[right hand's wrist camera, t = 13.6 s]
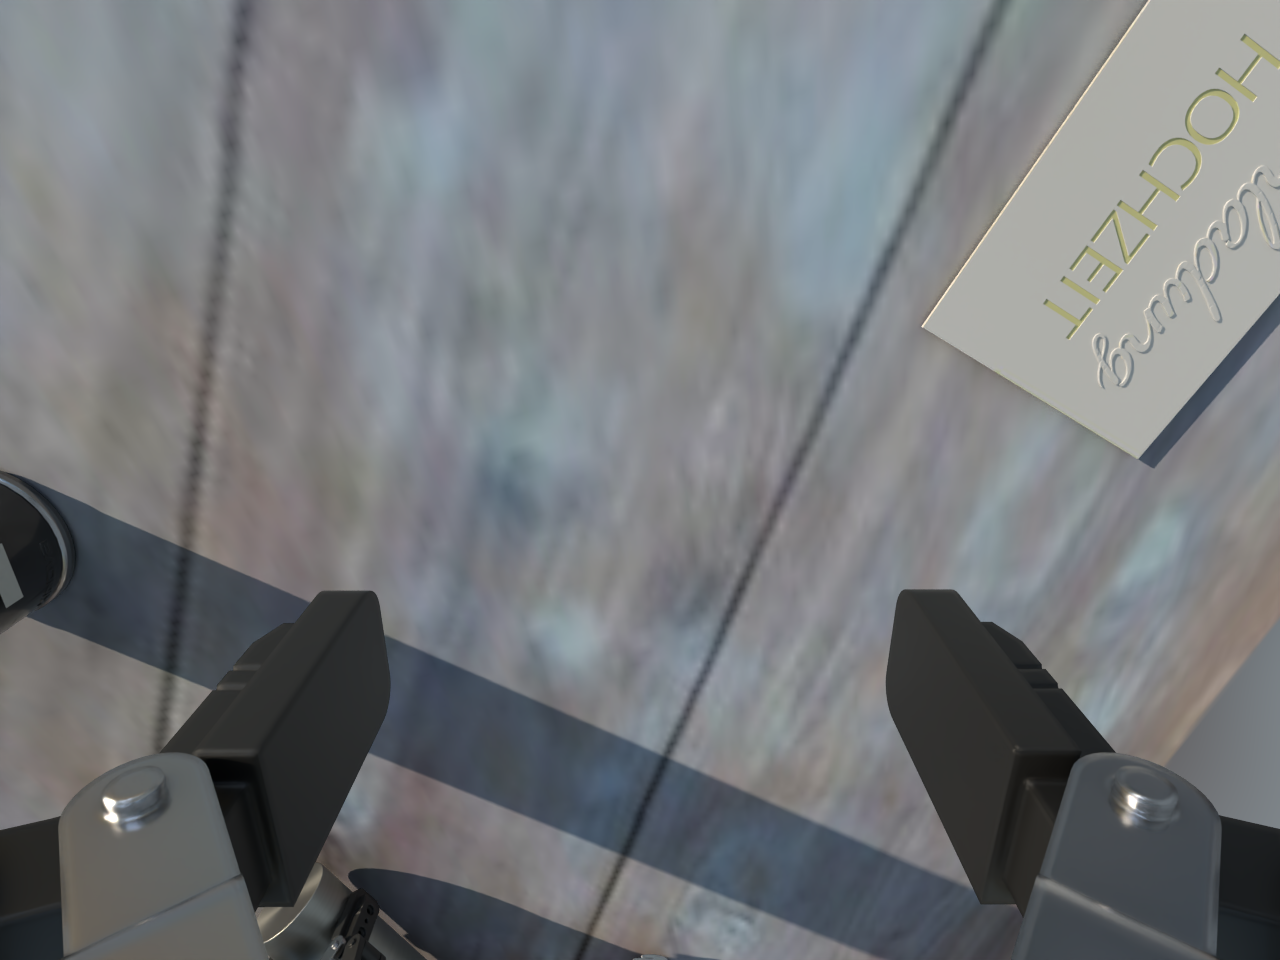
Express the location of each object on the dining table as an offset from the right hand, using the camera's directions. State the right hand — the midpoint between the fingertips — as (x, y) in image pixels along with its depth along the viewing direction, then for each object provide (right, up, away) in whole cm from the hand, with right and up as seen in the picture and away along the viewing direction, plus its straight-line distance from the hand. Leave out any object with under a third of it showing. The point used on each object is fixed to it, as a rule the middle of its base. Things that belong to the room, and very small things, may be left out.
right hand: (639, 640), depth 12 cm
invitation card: (+27, +16, +26) cm, 40 cm away
